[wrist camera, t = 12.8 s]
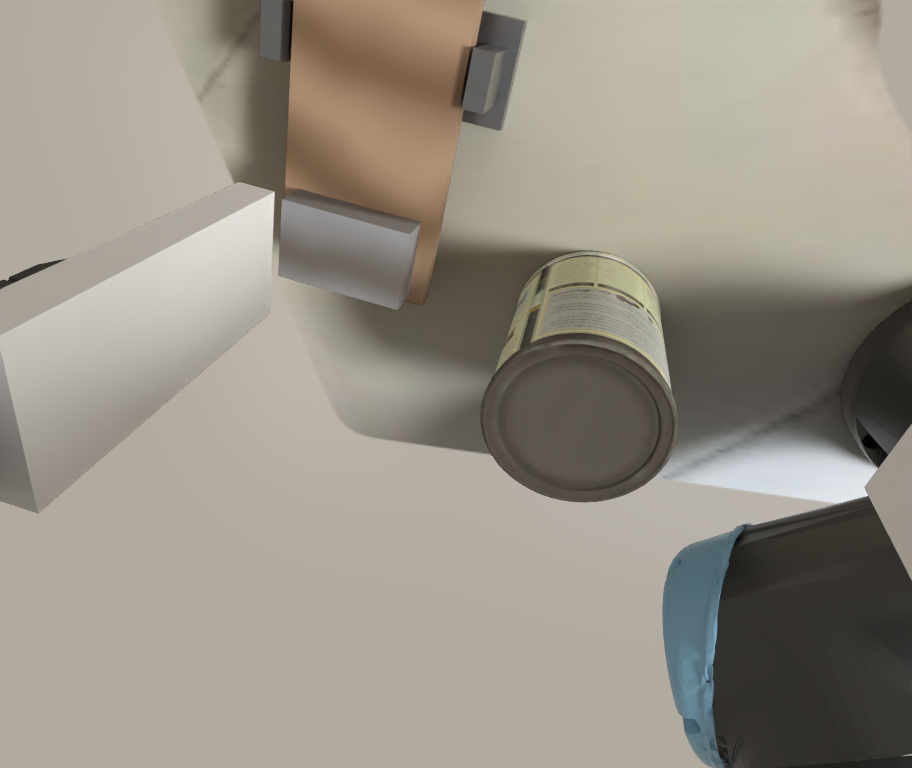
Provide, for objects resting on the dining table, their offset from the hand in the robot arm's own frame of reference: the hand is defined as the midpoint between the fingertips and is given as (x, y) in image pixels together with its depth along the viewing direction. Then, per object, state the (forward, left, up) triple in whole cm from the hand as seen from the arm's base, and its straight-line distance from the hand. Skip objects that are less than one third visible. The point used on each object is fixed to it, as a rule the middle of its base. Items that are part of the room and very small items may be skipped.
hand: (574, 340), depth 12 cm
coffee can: (-3, +13, -31) cm, 34 cm away
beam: (+13, -1, -26) cm, 29 cm away
